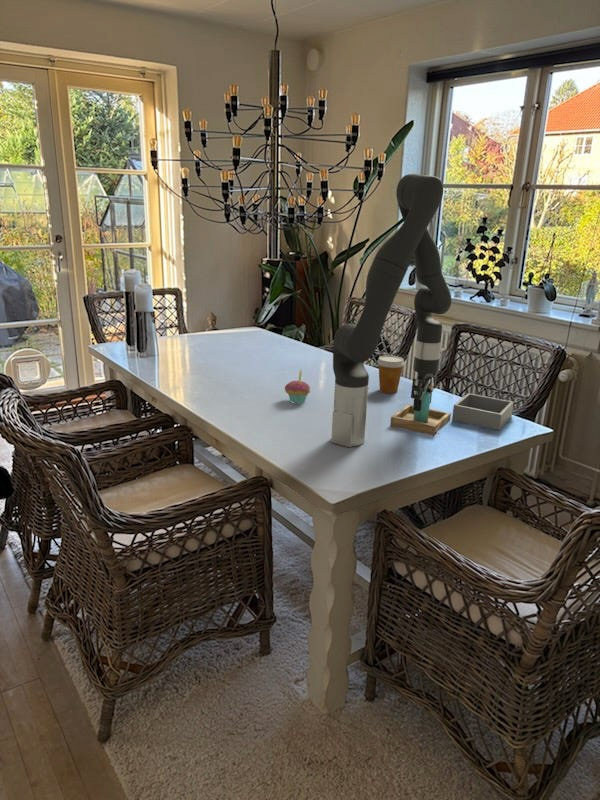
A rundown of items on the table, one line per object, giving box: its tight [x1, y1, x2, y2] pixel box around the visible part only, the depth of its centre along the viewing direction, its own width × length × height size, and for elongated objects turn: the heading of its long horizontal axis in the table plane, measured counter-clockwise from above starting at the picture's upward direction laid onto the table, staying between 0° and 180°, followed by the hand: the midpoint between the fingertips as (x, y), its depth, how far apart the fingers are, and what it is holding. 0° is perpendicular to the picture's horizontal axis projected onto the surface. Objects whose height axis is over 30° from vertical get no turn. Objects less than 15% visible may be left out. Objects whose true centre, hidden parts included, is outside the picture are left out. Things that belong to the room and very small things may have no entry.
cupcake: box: [284, 370, 311, 404], centre depth 203 cm, size 9×8×12 cm
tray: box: [389, 404, 452, 437], centre depth 188 cm, size 14×14×3 cm
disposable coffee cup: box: [376, 355, 405, 394], centre depth 218 cm, size 10×10×12 cm
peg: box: [413, 392, 432, 423], centre depth 187 cm, size 4×4×9 cm
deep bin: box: [451, 392, 515, 431], centre depth 191 cm, size 15×15×6 cm
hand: (422, 407), depth 187 cm, fingers open, 8 cm apart
